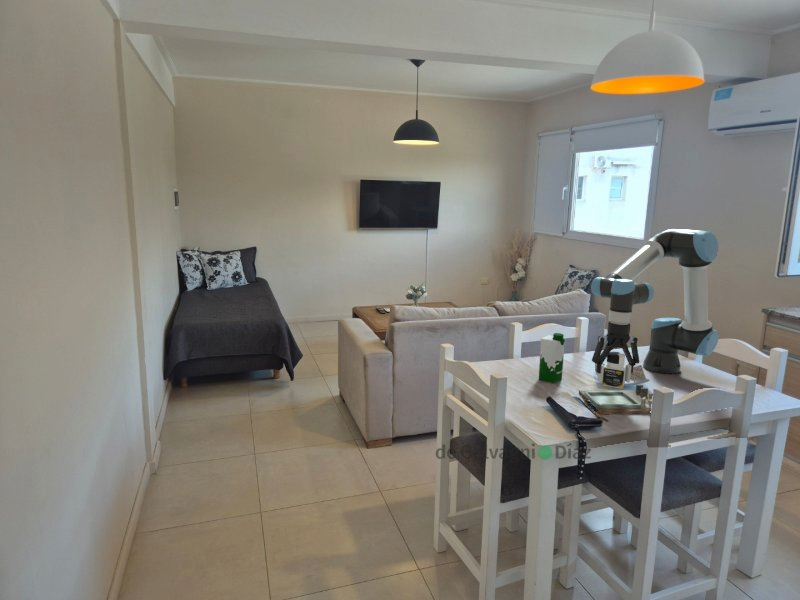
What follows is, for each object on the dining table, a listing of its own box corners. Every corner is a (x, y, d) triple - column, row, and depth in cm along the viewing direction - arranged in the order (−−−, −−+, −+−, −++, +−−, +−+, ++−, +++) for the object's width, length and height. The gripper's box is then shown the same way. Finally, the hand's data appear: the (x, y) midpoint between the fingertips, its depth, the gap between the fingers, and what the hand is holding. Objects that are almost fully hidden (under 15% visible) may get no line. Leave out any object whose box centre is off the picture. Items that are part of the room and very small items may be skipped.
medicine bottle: (601, 385, 198) (604, 353, 195) (604, 379, 204) (607, 349, 202) (622, 389, 194) (625, 356, 192) (624, 383, 201) (627, 352, 198)
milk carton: (555, 384, 220) (559, 337, 216) (535, 379, 226) (538, 333, 222) (564, 379, 227) (568, 333, 223) (544, 374, 232) (547, 329, 228)
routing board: (648, 393, 213) (649, 382, 212) (676, 413, 193) (678, 401, 192) (578, 393, 211) (579, 382, 210) (600, 413, 191) (601, 402, 190)
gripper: (644, 320, 199) (637, 377, 203) (585, 319, 198) (580, 378, 202) (654, 324, 192) (647, 384, 196) (593, 324, 190) (588, 384, 194)
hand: (613, 381), depth 199 cm, fingers closed on medicine bottle, 9 cm apart
